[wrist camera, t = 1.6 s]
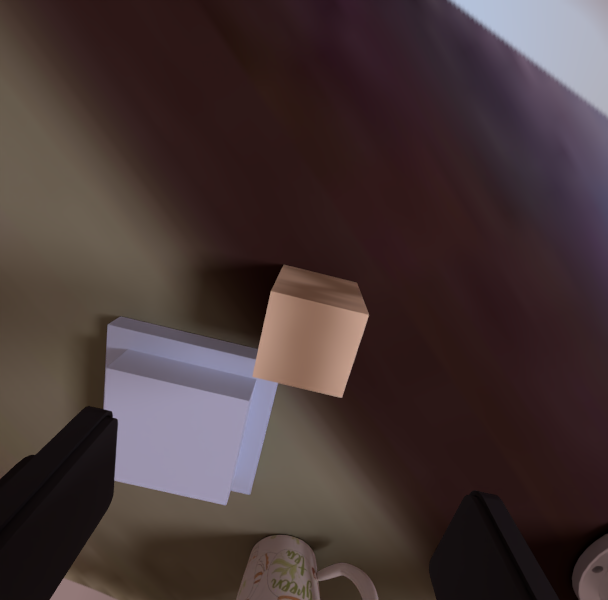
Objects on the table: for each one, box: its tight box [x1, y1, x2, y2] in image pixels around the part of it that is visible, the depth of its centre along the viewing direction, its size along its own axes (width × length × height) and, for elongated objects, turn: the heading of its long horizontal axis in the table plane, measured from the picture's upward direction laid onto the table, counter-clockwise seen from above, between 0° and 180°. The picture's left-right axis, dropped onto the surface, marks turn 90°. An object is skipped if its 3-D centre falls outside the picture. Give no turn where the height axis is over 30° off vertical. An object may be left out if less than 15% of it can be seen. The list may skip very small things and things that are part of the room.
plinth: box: [103, 316, 278, 505], centre depth 24 cm, size 12×12×4 cm
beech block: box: [252, 265, 369, 398], centre depth 20 cm, size 5×5×6 cm
